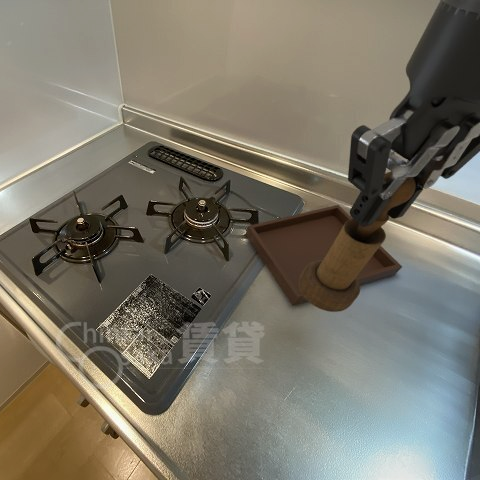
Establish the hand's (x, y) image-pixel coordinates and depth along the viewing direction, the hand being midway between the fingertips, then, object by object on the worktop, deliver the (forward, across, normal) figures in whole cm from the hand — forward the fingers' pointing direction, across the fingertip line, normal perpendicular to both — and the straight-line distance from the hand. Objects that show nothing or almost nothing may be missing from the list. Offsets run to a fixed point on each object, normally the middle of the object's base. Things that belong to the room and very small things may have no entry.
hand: (374, 215), depth 31 cm
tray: (+27, +14, +13) cm, 33 cm away
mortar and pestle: (+13, 0, 0) cm, 13 cm away
